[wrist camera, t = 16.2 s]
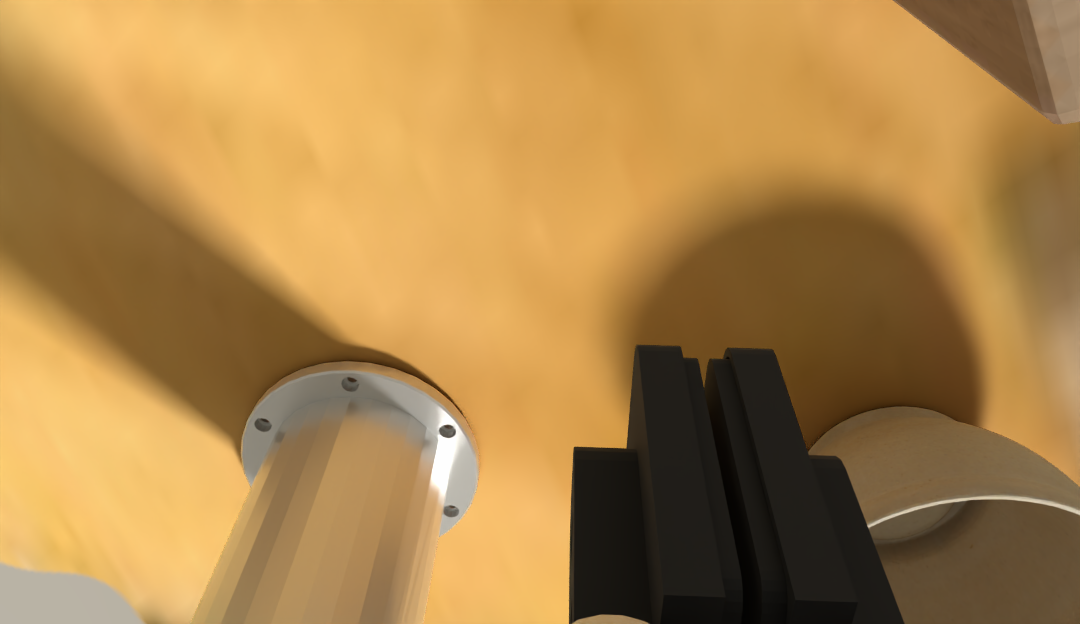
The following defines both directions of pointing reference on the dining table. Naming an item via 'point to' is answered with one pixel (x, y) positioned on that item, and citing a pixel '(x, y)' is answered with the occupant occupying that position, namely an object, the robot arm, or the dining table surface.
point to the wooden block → (1016, 46)
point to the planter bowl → (962, 518)
